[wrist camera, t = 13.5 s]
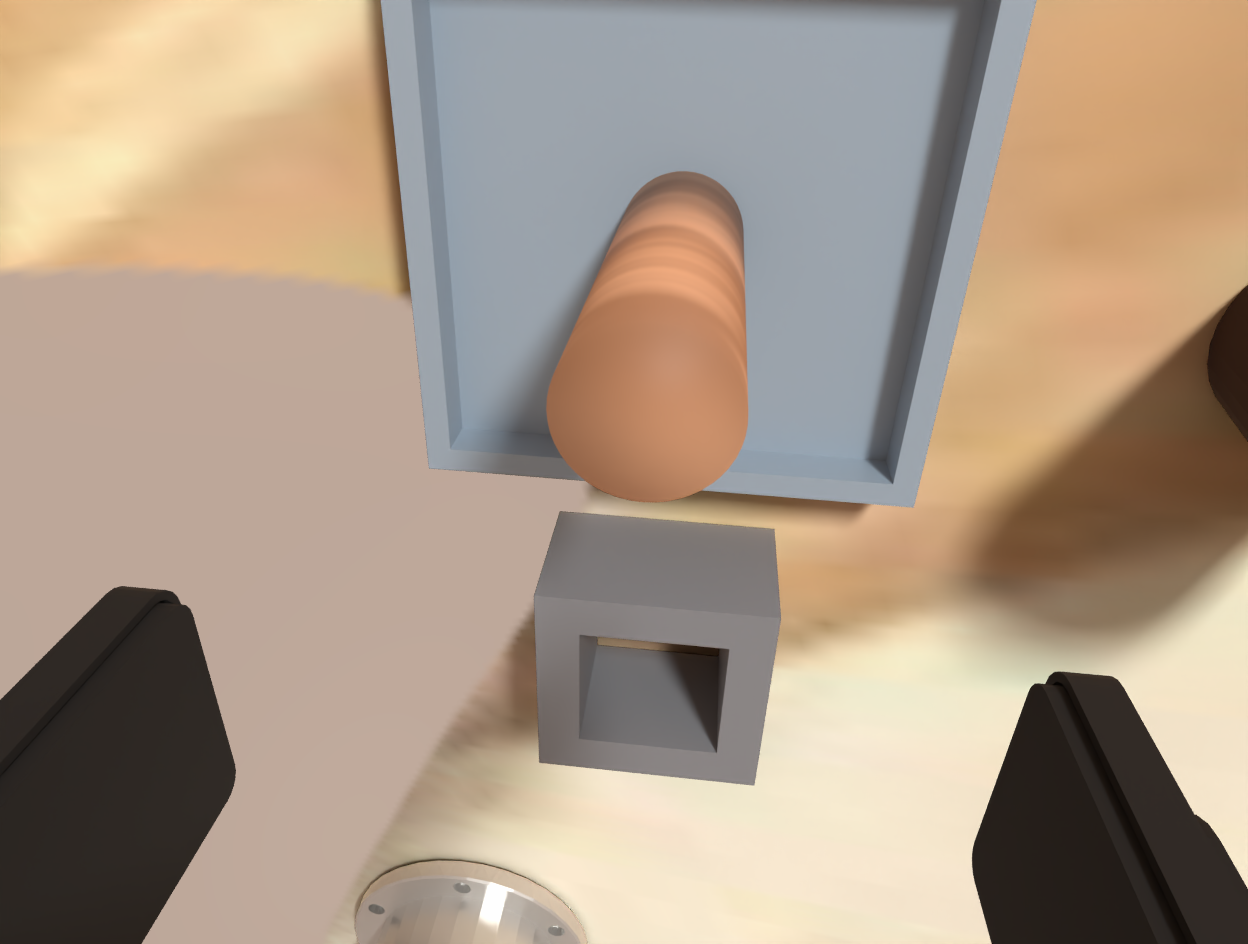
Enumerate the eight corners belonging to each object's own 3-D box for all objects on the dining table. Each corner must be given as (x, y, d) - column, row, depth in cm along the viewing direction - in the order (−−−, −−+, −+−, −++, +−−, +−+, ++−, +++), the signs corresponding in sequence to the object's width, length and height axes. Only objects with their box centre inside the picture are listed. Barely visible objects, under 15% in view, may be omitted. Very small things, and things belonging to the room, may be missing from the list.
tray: (900, 468, 30) (913, 507, 28) (449, 432, 31) (428, 468, 29) (1024, -78, 22) (1056, -82, 20) (403, -97, 23) (370, -102, 21)
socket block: (751, 686, 36) (754, 785, 32) (561, 668, 37) (539, 762, 32) (774, 529, 32) (780, 618, 28) (559, 511, 32) (533, 595, 28)
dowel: (737, 296, 26) (738, 510, 16) (620, 288, 27) (547, 494, 16) (749, 174, 25) (758, 327, 14) (623, 168, 25) (544, 313, 15)
